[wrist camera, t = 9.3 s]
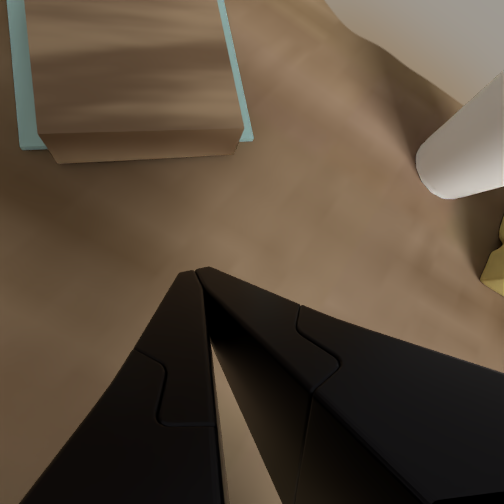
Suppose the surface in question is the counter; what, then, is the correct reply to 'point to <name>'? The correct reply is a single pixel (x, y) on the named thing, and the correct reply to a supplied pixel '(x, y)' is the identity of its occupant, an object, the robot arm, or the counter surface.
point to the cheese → (495, 267)
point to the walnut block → (132, 79)
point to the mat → (25, 86)
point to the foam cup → (467, 147)
